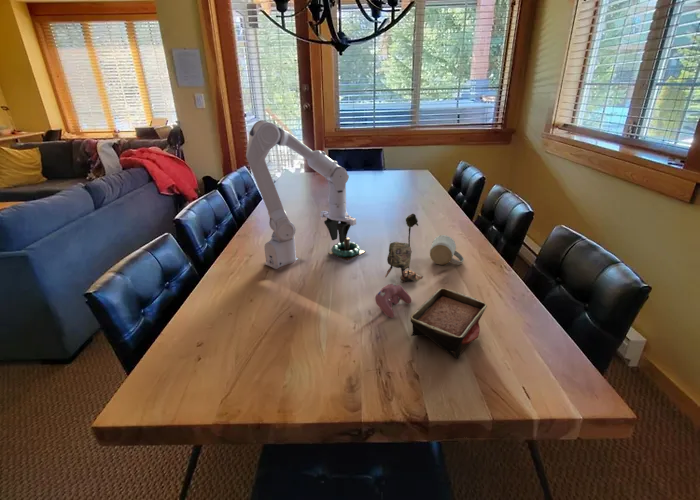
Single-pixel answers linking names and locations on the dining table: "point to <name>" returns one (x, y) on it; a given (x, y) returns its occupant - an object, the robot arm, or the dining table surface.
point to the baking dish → (449, 320)
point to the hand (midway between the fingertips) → (338, 240)
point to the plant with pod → (403, 255)
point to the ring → (344, 253)
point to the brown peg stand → (347, 248)
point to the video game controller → (391, 298)
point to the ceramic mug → (444, 251)
